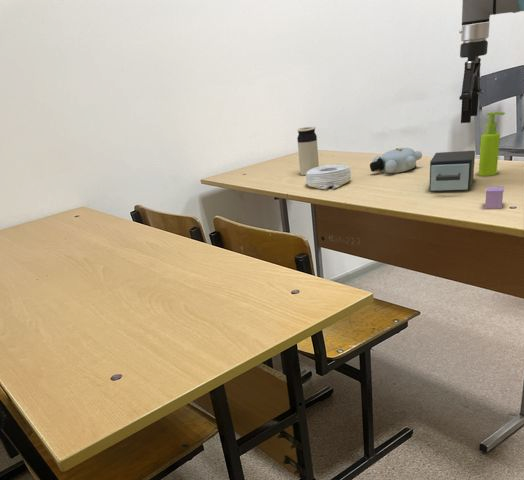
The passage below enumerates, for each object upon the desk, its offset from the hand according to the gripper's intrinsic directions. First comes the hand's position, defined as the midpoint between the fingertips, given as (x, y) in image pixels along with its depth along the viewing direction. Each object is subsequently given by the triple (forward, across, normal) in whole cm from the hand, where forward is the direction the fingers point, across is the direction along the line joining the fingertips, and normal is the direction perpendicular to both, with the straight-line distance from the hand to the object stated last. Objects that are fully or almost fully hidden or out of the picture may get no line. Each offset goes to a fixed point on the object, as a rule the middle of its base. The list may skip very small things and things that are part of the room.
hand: (469, 119), depth 165 cm
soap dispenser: (+21, -18, +5) cm, 28 cm away
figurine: (+21, -27, -30) cm, 46 cm away
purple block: (+21, +23, +12) cm, 33 cm away
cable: (+21, -7, -51) cm, 56 cm away
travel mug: (+21, -26, -67) cm, 75 cm away
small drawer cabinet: (+21, -2, -4) cm, 21 cm away
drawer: (+20, +4, -4) cm, 21 cm away
